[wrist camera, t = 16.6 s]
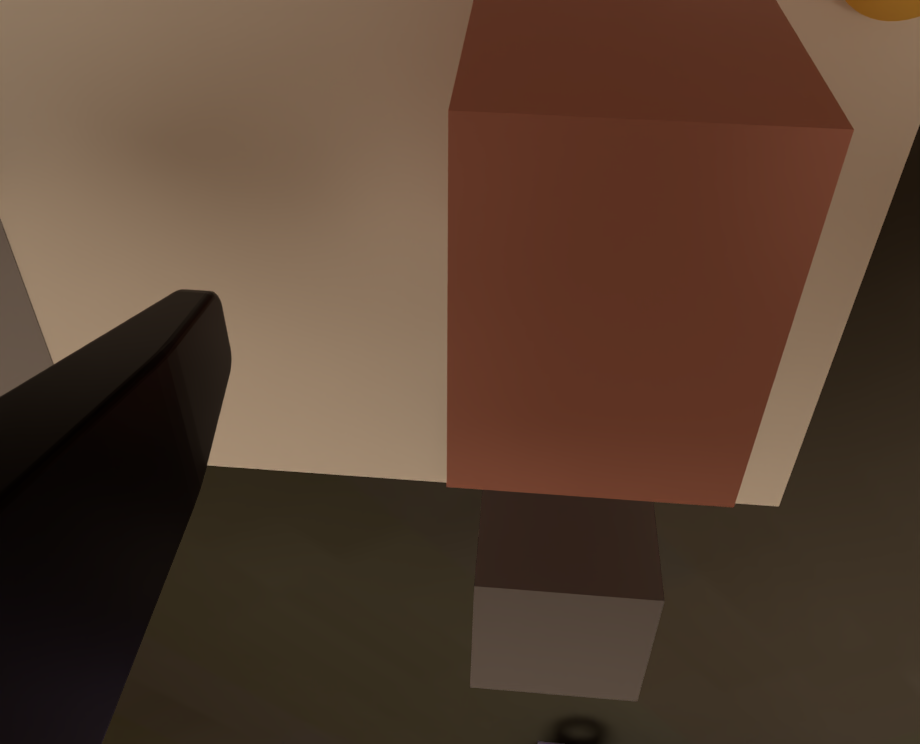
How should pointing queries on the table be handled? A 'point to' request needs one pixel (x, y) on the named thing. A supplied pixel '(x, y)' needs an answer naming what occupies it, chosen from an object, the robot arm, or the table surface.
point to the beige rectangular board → (336, 207)
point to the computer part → (541, 743)
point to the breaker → (565, 594)
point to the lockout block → (627, 241)
